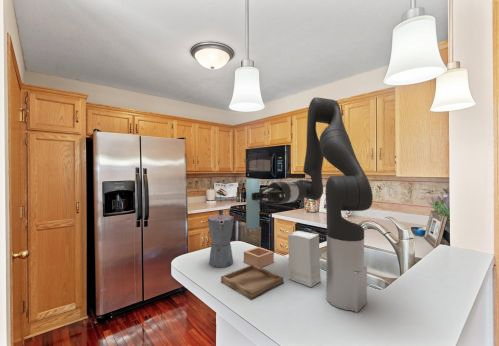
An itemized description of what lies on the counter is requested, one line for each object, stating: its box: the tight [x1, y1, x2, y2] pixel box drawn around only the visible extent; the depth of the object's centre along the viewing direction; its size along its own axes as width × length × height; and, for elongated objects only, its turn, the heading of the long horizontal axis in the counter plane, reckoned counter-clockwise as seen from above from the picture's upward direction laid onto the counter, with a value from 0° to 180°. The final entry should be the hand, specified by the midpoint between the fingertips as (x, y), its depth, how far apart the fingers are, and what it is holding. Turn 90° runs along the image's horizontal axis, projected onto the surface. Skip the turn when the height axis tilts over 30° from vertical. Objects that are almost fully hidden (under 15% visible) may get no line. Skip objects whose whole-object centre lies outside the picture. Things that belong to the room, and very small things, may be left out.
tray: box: [220, 265, 285, 300], centre depth 73 cm, size 14×14×2 cm
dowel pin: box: [245, 178, 260, 230], centre depth 73 cm, size 4×4×15 cm
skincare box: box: [287, 230, 322, 288], centre depth 75 cm, size 8×6×15 cm
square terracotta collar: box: [243, 246, 275, 268], centre depth 89 cm, size 8×8×4 cm
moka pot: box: [207, 209, 235, 269], centre depth 89 cm, size 10×15×20 cm, turn 14°
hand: (247, 196), depth 72 cm, fingers closed on dowel pin, 4 cm apart
